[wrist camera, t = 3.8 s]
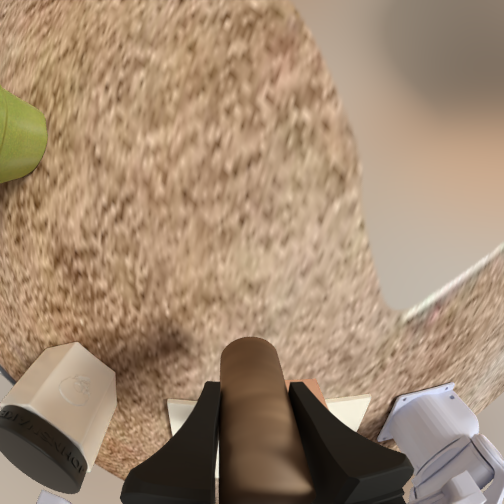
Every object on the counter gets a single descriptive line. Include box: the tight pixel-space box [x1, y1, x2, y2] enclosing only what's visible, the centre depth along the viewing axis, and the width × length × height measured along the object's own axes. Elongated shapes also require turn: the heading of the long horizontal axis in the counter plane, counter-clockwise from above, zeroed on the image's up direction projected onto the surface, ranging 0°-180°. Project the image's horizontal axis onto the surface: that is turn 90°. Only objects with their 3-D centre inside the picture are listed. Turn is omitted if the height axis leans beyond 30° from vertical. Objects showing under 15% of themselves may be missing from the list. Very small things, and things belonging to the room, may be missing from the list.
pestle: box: [219, 337, 316, 504], centre depth 11 cm, size 3×3×9 cm
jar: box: [0, 342, 117, 494], centre depth 17 cm, size 9×8×12 cm
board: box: [167, 394, 371, 478], centre depth 26 cm, size 20×14×1 cm
